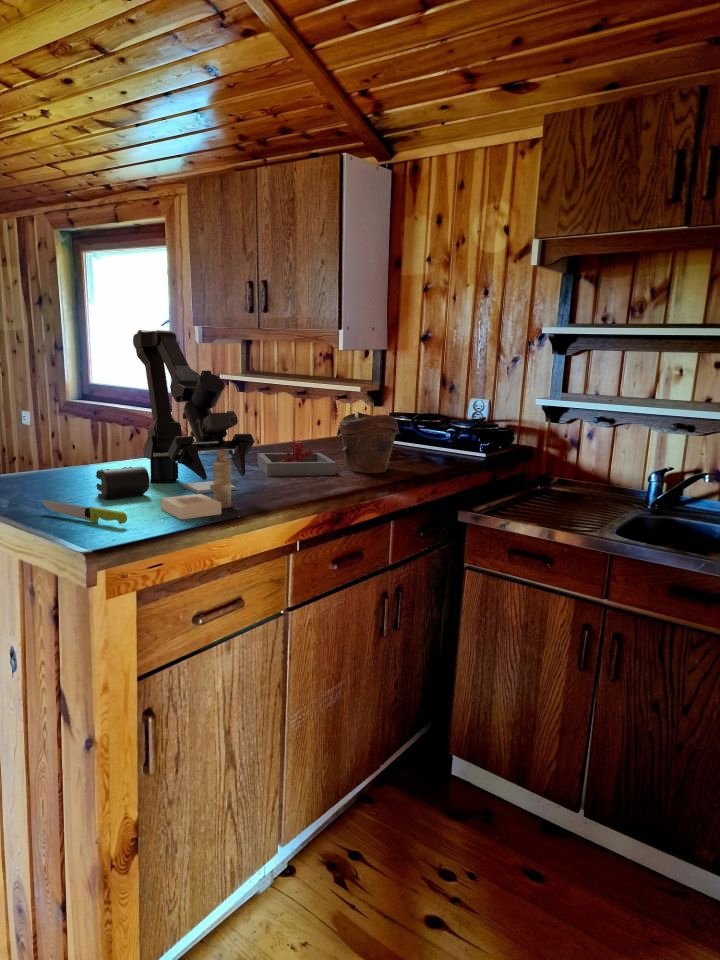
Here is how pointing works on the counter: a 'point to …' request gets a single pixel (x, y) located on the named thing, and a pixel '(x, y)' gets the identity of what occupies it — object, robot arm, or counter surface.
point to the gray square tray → (296, 465)
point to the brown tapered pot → (367, 441)
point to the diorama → (297, 453)
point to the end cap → (122, 482)
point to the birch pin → (222, 479)
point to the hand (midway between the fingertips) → (225, 477)
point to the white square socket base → (190, 506)
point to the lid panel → (202, 487)
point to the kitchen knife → (86, 512)
